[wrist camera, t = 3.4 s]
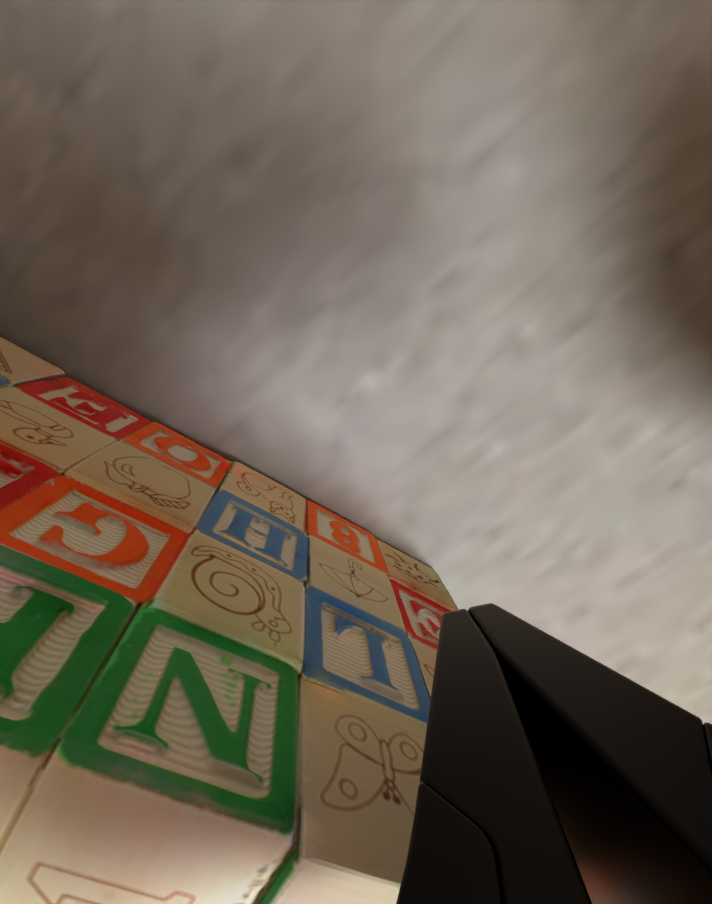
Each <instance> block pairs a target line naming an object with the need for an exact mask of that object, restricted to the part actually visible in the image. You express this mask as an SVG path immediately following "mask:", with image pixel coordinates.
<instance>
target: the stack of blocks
mask: <svg viewBox="0 0 712 904" xmlns="http://www.w3.org/2000/svg"><path fill="white" fill-rule="evenodd" d="M455 610H458V607H457V606H456V604H455V603H454V601H453V599H452V597H451V596H450V594H449V592H448V590H447V589H446V587H445V586H444V584H443V582H442V581H441V579H440V577H439V575H438V574H437V573H436V572H435V570H434V569H432V568H430V567H428V566H426V565H424V564H422V563H421V562H419V561H417V560H415V559H413V558H411V557H409V556H408V555H406V554H404V553H402V552H400V551H398V550H397V549H395V548H393V547H391V546H389V545H387V544H386V543H384V542H382V541H380V540H378V539H376V538H375V537H374V536H373V535H372V534H371V533H369V532H367V531H366V530H364V529H362V528H360V527H358V526H356V525H355V524H353V523H351V522H349V521H347V520H345V519H343V518H341V517H340V516H338V515H336V514H334V513H332V512H330V511H328V510H326V509H325V508H323V507H321V506H319V505H317V504H315V503H313V502H311V501H309V500H306V499H305V498H303V497H302V496H300V495H299V494H297V493H295V492H293V491H291V490H290V489H288V488H286V487H285V486H283V485H281V484H279V483H277V482H275V481H273V480H271V479H269V478H268V477H266V476H264V475H262V474H260V473H258V472H256V471H254V470H252V469H250V468H249V467H247V466H245V465H243V464H241V463H239V462H235V461H233V462H231V461H228V460H226V459H224V458H223V457H222V456H220V455H219V454H216V453H214V452H212V451H210V450H208V449H206V448H204V447H202V446H200V445H198V444H197V443H195V442H193V441H191V440H189V439H188V438H186V437H184V436H182V435H180V434H178V433H176V432H174V431H172V430H171V429H169V428H167V427H165V426H163V425H161V424H159V423H158V422H152V421H149V420H148V419H146V418H144V417H143V416H141V415H139V414H137V413H135V412H133V411H132V410H130V409H128V408H126V407H125V406H123V405H121V404H119V403H117V402H115V401H113V400H111V399H109V398H107V397H105V396H103V395H101V394H99V393H97V392H96V391H94V390H92V389H90V388H88V387H86V386H84V385H83V384H81V383H79V382H77V381H75V380H73V379H70V378H67V377H66V375H65V372H64V371H63V370H61V369H59V368H58V367H56V366H54V365H52V364H50V363H48V362H46V361H44V360H42V359H41V358H39V357H37V356H35V355H33V354H31V353H29V352H28V351H26V350H24V349H22V348H20V347H18V346H16V345H15V344H13V343H11V342H9V341H7V340H5V339H4V338H2V337H0V904H396V902H397V898H398V894H399V889H400V885H401V881H402V877H403V873H404V868H405V864H406V860H407V854H408V848H409V843H410V837H411V831H412V825H413V819H414V814H415V806H416V799H417V792H418V786H419V785H420V773H421V765H422V758H423V751H424V743H425V736H426V728H427V721H428V714H429V706H430V699H431V692H432V684H433V677H434V670H435V662H436V655H437V647H438V640H439V633H440V625H441V618H442V615H443V614H444V613H445V612H450V611H455Z"/></svg>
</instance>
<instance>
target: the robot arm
mask: <svg viewBox="0 0 712 904" xmlns="http://www.w3.org/2000/svg"><path fill="white" fill-rule="evenodd" d="M396 904H712V724H710V723H704V724H703V723H702V720H701V719H700V718H699V717H697V716H695V715H693V714H691V713H690V712H688V711H686V710H684V709H682V708H681V707H679V706H677V705H675V704H673V703H672V702H670V701H668V700H666V699H664V698H663V697H661V696H659V695H657V694H655V693H654V692H652V691H650V690H648V689H646V688H645V687H643V686H641V685H639V684H637V683H635V682H634V681H632V680H630V679H628V678H626V677H625V676H623V675H621V674H619V673H617V672H616V671H614V670H612V669H610V668H608V667H607V666H605V665H603V664H601V663H599V662H598V661H596V660H594V659H592V658H590V657H589V656H587V655H585V654H583V653H581V652H580V651H578V650H576V649H574V648H572V647H571V646H569V645H567V644H565V643H563V642H562V641H560V640H558V639H556V638H554V637H553V636H551V635H549V634H547V633H545V632H543V631H542V630H540V629H538V628H536V627H534V626H533V625H531V624H529V623H527V622H525V621H524V620H522V619H520V618H518V617H516V616H515V615H513V614H511V613H509V612H507V611H506V610H504V609H502V608H500V607H498V606H497V605H495V604H492V603H489V604H484V605H479V606H474V607H471V608H469V610H468V611H467V610H466V609H460V610H455V611H450V612H445V613H444V614H443V615H442V618H441V625H440V633H439V640H438V647H437V655H436V662H435V670H434V677H433V684H432V692H431V699H430V706H429V714H428V721H427V728H426V736H425V743H424V751H423V758H422V765H421V773H420V785H419V786H418V792H417V799H416V806H415V814H414V819H413V825H412V831H411V837H410V843H409V848H408V854H407V860H406V864H405V868H404V873H403V877H402V881H401V885H400V889H399V894H398V898H397V902H396Z"/></svg>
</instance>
